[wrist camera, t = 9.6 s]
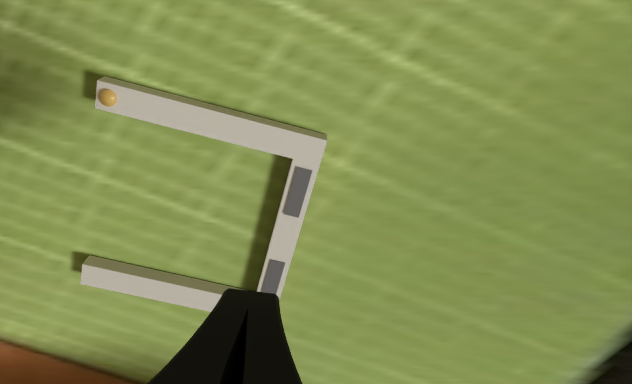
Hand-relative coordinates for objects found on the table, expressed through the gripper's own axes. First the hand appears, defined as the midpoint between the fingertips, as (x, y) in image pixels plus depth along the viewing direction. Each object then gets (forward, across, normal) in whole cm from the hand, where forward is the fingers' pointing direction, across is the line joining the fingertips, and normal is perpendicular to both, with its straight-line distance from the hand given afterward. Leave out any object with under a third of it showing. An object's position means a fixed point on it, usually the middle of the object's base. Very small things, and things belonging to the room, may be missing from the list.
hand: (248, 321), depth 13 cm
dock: (+10, +4, +2) cm, 12 cm away
